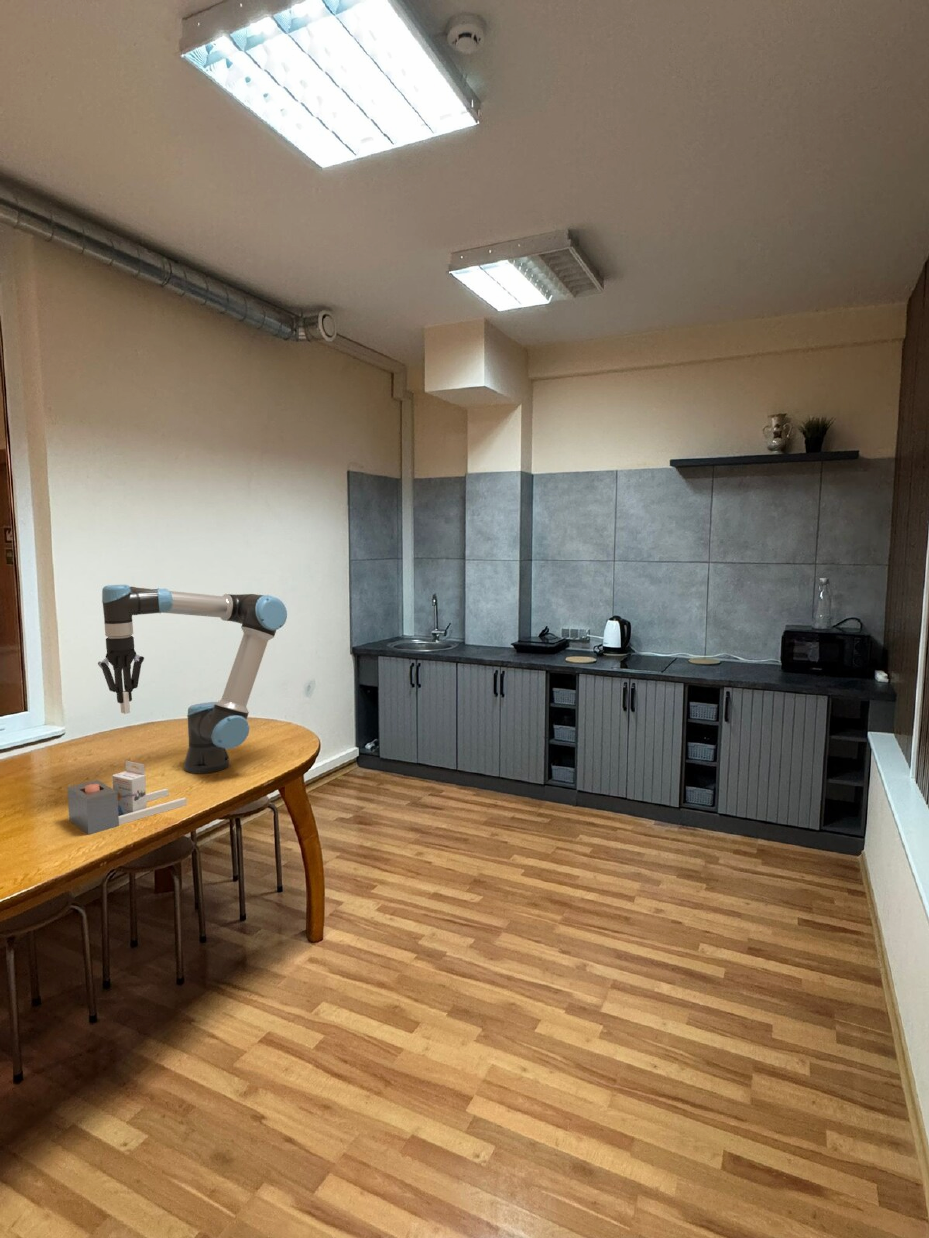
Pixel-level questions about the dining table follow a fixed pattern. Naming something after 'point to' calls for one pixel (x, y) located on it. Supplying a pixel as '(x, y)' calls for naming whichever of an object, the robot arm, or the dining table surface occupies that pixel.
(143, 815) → the rail track
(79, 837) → the dining table surface
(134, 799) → the ink box
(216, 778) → the dining table surface
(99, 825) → the grey rectangular block
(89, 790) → the gauge plunger
